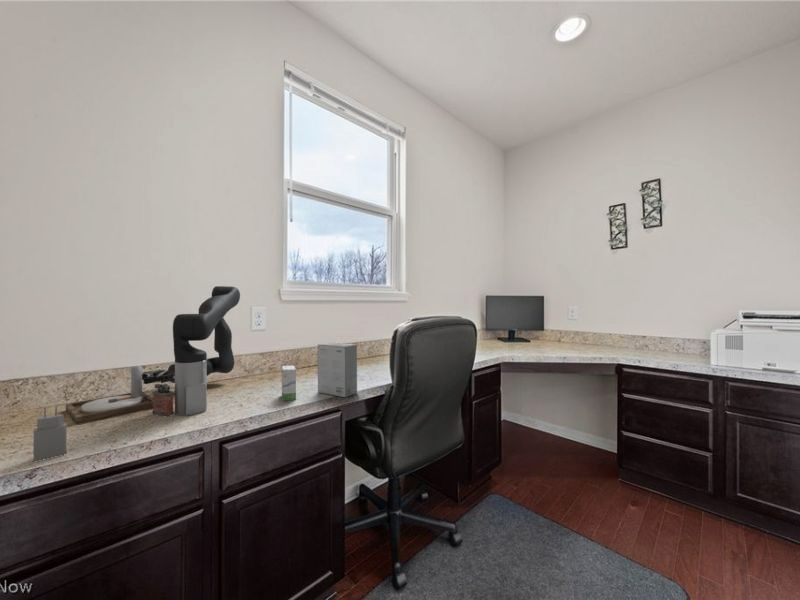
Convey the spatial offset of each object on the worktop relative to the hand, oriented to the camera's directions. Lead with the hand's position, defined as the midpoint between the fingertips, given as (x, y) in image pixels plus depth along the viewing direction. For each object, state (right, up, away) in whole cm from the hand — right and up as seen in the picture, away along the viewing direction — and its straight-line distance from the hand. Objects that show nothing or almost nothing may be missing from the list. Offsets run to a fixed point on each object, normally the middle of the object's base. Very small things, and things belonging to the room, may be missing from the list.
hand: (138, 379), depth 122 cm
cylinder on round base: (-3, -7, -6) cm, 10 cm away
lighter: (+18, -9, -12) cm, 23 cm away
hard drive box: (+71, -9, +13) cm, 73 cm away
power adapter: (+12, -9, -42) cm, 44 cm away
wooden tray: (-4, -9, -7) cm, 11 cm away
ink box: (+53, -9, +7) cm, 54 cm away
